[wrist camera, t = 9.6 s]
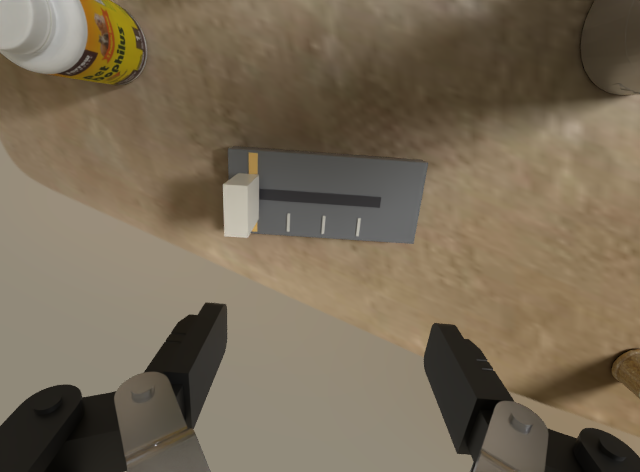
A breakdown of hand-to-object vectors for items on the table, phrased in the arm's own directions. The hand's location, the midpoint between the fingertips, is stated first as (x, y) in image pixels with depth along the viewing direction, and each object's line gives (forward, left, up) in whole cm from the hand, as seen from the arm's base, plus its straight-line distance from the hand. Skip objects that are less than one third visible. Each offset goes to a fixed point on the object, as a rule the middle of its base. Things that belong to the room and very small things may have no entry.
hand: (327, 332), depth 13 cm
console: (-1, 0, -18) cm, 18 cm away
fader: (-1, -6, -16) cm, 17 cm away
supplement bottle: (-12, -17, -18) cm, 27 cm away
